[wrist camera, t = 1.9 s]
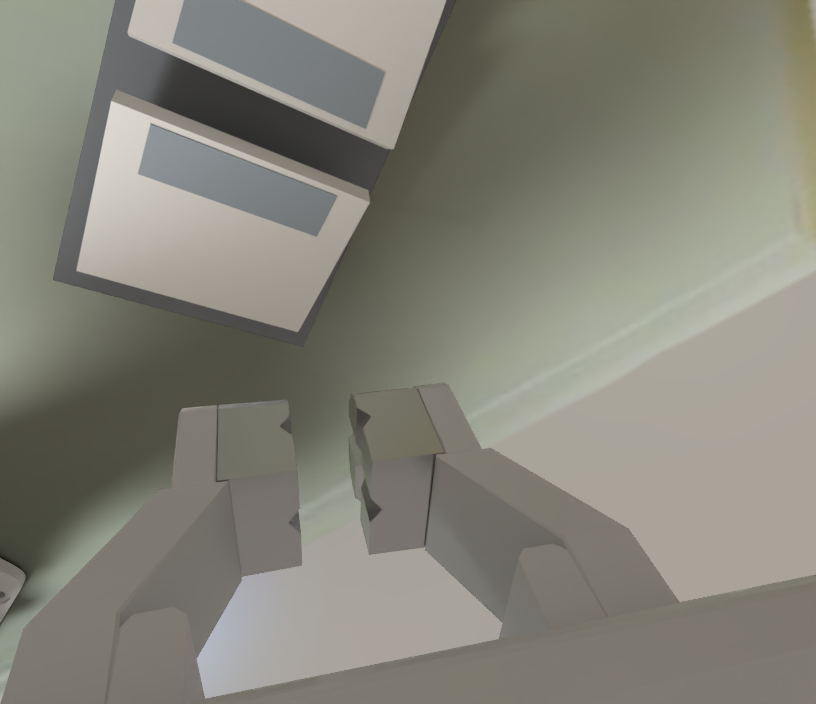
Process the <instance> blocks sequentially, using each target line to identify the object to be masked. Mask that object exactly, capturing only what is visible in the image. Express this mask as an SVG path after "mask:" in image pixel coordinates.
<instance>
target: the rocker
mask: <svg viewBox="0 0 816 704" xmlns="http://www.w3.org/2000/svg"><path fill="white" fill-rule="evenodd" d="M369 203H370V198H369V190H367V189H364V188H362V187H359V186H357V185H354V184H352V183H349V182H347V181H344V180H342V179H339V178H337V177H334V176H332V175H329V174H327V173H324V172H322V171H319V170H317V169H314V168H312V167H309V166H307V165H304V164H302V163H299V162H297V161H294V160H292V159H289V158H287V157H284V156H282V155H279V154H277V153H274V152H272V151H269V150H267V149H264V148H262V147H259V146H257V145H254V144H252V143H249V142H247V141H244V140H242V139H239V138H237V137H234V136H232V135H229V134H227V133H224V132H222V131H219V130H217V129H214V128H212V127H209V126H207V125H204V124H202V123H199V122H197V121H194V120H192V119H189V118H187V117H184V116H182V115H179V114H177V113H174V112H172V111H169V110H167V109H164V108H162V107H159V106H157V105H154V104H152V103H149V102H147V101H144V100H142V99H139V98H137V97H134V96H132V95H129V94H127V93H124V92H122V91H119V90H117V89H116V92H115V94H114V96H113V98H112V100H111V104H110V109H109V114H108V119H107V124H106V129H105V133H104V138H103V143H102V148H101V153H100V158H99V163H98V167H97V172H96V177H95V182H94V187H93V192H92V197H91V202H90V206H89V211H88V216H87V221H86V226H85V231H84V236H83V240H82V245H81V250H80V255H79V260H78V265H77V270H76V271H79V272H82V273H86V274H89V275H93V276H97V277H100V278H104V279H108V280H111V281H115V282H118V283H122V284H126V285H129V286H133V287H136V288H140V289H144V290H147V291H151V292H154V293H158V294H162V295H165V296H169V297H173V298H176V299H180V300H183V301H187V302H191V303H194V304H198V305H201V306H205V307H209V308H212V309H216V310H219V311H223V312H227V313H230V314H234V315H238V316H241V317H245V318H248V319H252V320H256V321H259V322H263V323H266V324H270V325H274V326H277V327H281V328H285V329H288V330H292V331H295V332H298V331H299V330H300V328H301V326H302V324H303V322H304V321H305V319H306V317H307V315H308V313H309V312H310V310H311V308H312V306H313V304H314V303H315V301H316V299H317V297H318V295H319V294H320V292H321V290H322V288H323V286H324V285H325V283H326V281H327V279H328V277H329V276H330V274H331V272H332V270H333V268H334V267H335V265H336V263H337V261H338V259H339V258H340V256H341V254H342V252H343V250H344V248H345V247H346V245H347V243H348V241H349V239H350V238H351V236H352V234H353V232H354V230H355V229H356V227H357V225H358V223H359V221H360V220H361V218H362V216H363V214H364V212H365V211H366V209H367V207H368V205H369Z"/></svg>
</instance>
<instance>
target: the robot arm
mask: <svg viewBox="0 0 816 704" xmlns="http://www.w3.org/2000/svg"><path fill="white" fill-rule="evenodd" d="M349 417H350V421H351V425H352V429H353V434H352V435H351V436H350V437H349V461H350V473H351V479H352V485H353V489H354V494H355V498H357V499H358V500H359V501H361V524H362V528H363V532H364V536H365V540H366V544H367V548H368V552H369V555H370V554H378V553H385V552H393V551H400V550H408V549H415V548H422V547H425V550H426V551H427V552H428V553H429V554H430V555H431V556H432V557H433V558H434V559H435V560H437V562H439V563H440V564H441V565H442V566H443V567H444V568H445V569H446V570H447V571H448V572H449V573H450V574H451V575H452V576H453V577H454V578H456V579H457V580H458V581H459V582H460V583H461V584H462V585H463V586H464V587H465V588H466V589H467V590H468V591H469V592H470V593H471V594H472V595H474V596H475V597H476V598H477V599H478V600H479V601H480V602H481V603H482V604H483V605H484V606H485V607H486V608H487V609H488V610H489V611H491V612H492V613H493V614H494V615H495V616H496V617H497V618H498V619H499V620H500V621H501V622H502V623H503V625H502V628H501V632H500V637H499V639H498V640H493V641H488V642H483V643H478V644H473V645H468V646H463V647H459V648H453V649H449V650H444V651H439V652H434V653H429V654H424V655H419V656H414V657H409V658H404V659H400V660H394V661H389V662H384V663H379V664H375V665H370V666H365V667H360V668H355V669H350V670H345V671H340V672H335V673H330V674H326V675H320V676H315V677H310V678H306V679H300V680H295V681H291V682H286V683H281V684H276V685H271V686H266V687H261V688H256V689H251V690H246V691H241V692H236V693H231V694H226V695H222V696H216V697H212V698H207V699H205V696H204V692H203V687H202V682H201V678H200V673H199V668H198V664H197V660H196V659H197V657H198V655H199V653H200V652H201V650H202V648H203V647H204V645H205V643H206V641H207V639H208V638H209V636H210V634H211V633H212V631H213V629H214V627H215V626H216V624H217V622H218V620H219V619H220V617H221V615H222V614H223V612H224V610H225V608H226V607H227V605H228V603H229V601H230V600H231V598H232V596H233V595H234V593H235V591H236V589H237V587H238V586H239V584H240V582H241V581H242V579H241V577H243V576H248V575H253V574H259V573H264V572H269V571H275V570H280V569H285V568H291V567H295V566H301V565H302V551H301V530H300V522H299V514H298V510H299V509H300V507H299V491H298V475H297V465H296V457H295V449H294V440H293V436H292V435H291V422H290V411H289V404H288V400H275V401H262V402H249V403H235V404H222V405H219V407H218V406H216V405H212V406H201V407H190V408H182V409H181V411H180V413H179V417H178V426H177V436H176V446H175V455H174V465H173V475H172V485H171V488H167V489H160V490H159V491H158V492H157V493H156V494H155V495H154V496H153V497H152V498H151V499H150V500H149V501H148V502H147V503H146V504H145V505H144V506H143V507H142V508H141V509H140V510H139V511H138V512H137V513H136V514H135V515H134V516H133V517H132V518H131V519H130V520H129V521H128V522H127V523H126V524H125V525H124V527H123V528H122V529H121V530H120V531H119V532H118V533H117V534H116V535H115V536H114V537H113V538H112V539H111V540H110V541H109V542H108V543H107V544H106V545H105V546H104V547H103V548H102V549H101V550H100V551H99V552H98V553H97V554H96V555H95V556H94V557H93V558H92V559H91V560H90V561H89V562H88V563H87V564H86V565H85V566H84V567H83V568H82V569H81V570H80V571H79V572H78V573H77V574H76V575H75V577H74V578H73V579H72V580H71V581H70V582H69V583H68V584H67V585H66V586H65V587H64V588H63V589H62V590H61V591H60V592H59V593H58V594H57V595H56V596H55V597H54V598H53V599H52V600H51V601H50V602H49V603H48V604H47V605H46V606H45V607H44V608H43V609H42V610H41V611H40V612H39V613H38V614H37V615H36V616H35V617H34V618H33V619H32V620H31V621H30V622H29V623H28V624H27V626H26V627H25V628H24V629H23V632H22V635H21V638H20V641H19V645H18V648H17V651H16V655H15V658H14V661H13V665H12V668H11V671H10V674H9V678H8V681H7V684H6V688H5V691H4V694H3V697H2V701H1V704H816V575H812V576H808V577H802V578H797V579H792V580H787V581H782V582H777V583H772V584H768V585H762V586H757V587H753V588H748V589H743V590H738V591H733V592H728V593H723V594H718V595H713V596H708V597H703V598H699V599H693V600H688V601H683V602H679V601H678V599H677V598H676V596H675V595H674V594H673V592H672V591H671V589H670V588H669V586H668V585H667V583H666V582H665V581H664V579H663V578H662V576H661V575H660V573H659V572H658V570H657V569H656V567H655V566H654V565H653V563H652V562H651V560H650V559H649V557H648V556H647V554H646V553H645V552H644V550H643V549H642V547H641V546H640V544H639V543H638V541H637V540H636V538H635V537H634V536H633V534H632V533H631V531H630V530H629V529H628V528H626V527H625V526H623V525H621V524H620V523H618V522H616V521H615V520H613V519H611V518H609V517H607V516H606V515H604V514H603V513H601V512H599V511H598V510H596V509H594V508H592V507H591V506H589V505H587V504H586V503H584V502H582V501H580V500H579V499H577V498H575V497H574V496H572V495H570V494H569V493H567V492H565V491H563V490H562V489H560V488H558V487H557V486H555V485H553V484H551V483H550V482H548V481H546V480H545V479H543V478H541V477H539V476H538V475H536V474H534V473H533V472H531V471H529V470H528V469H526V468H524V467H522V466H521V465H519V464H517V463H515V462H514V461H512V460H510V459H509V458H507V457H505V456H504V455H502V454H500V453H499V452H497V451H495V450H493V449H492V448H487V449H482V448H481V446H480V444H479V442H478V440H477V438H476V437H475V435H474V433H473V431H472V429H471V427H470V425H469V423H468V421H467V419H466V417H465V415H464V413H463V412H462V410H461V408H460V406H459V404H458V402H457V400H456V398H455V396H454V394H453V392H452V390H451V388H450V387H449V385H447V384H446V383H437V384H429V385H421V386H414V388H405V389H395V390H385V391H375V392H365V393H355V394H350V401H349ZM25 579H26V576H25V573H24V572H23V571H22V570H21V569H19V568H18V567H16V566H14V565H13V564H11V563H9V562H7V561H5V560H3V559H1V558H0V622H1V621H2V619H3V617H4V616H5V614H6V613H7V611H8V609H9V608H10V606H11V605H12V603H13V601H14V600H15V598H16V597H17V595H18V593H19V592H20V590H21V588H22V586H23V584H24V582H25Z"/></svg>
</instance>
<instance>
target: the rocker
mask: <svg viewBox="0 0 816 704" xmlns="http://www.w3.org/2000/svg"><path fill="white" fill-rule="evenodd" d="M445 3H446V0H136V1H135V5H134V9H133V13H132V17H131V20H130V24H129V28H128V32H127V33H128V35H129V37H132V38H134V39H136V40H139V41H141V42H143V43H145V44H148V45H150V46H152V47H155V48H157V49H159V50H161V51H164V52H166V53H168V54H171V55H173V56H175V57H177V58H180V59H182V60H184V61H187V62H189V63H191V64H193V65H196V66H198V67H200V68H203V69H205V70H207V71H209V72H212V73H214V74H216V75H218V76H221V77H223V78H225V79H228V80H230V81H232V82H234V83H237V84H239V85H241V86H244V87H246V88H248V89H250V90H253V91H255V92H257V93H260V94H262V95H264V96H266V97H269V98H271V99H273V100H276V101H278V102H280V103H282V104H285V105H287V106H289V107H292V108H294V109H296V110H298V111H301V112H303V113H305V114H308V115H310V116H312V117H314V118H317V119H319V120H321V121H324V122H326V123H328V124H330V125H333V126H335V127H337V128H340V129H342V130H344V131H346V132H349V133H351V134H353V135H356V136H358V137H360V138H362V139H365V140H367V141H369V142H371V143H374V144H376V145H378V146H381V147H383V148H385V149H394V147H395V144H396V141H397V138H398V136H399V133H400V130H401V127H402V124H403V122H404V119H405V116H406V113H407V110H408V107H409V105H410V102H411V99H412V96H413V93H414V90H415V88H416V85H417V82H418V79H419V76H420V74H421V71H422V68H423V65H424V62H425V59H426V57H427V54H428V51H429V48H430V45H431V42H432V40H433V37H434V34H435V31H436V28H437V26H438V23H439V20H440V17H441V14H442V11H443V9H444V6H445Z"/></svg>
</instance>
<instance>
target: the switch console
mask: <svg viewBox="0 0 816 704" xmlns="http://www.w3.org/2000/svg"><path fill="white" fill-rule="evenodd" d="M135 1H136V0H115V4H114V8H113V13H112V17H111V22H110V26H109V31H108V35H107V40H106V44H105V48H104V53H103V57H102V62H101V66H100V71H99V75H98V80H97V84H96V89H95V93H94V98H93V102H92V107H91V111H90V116H89V120H88V124H87V129H86V133H85V138H84V142H83V147H82V151H81V156H80V160H79V165H78V169H77V174H76V178H75V183H74V187H73V192H72V196H71V201H70V205H69V209H68V214H67V218H66V223H65V227H64V232H63V236H62V241H61V245H60V250H59V254H58V259H57V263H56V268H55V272H54V277H53V280H55V281H59V282H63V283H66V284H70V285H74V286H78V287H81V288H85V289H89V290H93V291H96V292H100V293H104V294H108V295H111V296H115V297H119V298H123V299H126V300H130V301H134V302H137V303H141V304H145V305H149V306H152V307H156V308H160V309H164V310H167V311H171V312H175V313H179V314H182V315H186V316H190V317H194V318H197V319H201V320H205V321H209V322H212V323H216V324H220V325H224V326H227V327H231V328H235V329H239V330H242V331H246V332H250V333H253V334H257V335H261V336H265V337H268V338H272V339H276V340H280V341H283V342H287V343H291V344H295V345H298V346H302V347H303V345H304V343H305V341H306V339H307V336H308V334H309V332H310V330H311V327H312V325H313V323H314V320H315V318H316V316H317V314H318V311H319V309H320V307H321V305H322V302H323V300H324V298H325V296H326V293H327V291H328V289H329V286H330V284H331V282H332V280H333V277H334V275H335V273H336V271H337V268H338V266H339V264H340V262H341V259H342V257H343V255H344V252H345V250H346V248H347V246H348V243H349V241H350V239H351V238H350V239H349V241H348V243H347V245H346V247H345V248H344V250H343V252H342V254H341V256H340V258H339V259H338V261H337V263H336V265H335V267H334V268H333V270H332V272H331V274H330V276H329V277H328V279H327V281H326V283H325V285H324V286H323V288H322V290H321V292H320V294H319V295H318V297H317V299H316V301H315V303H314V304H313V306H312V308H311V310H310V312H309V313H308V315H307V317H306V319H305V321H304V322H303V324H302V326H301V328H300V330H299V331H298V332H295V331H292V330H288V329H285V328H281V327H277V326H274V325H270V324H266V323H263V322H259V321H256V320H252V319H248V318H245V317H241V316H238V315H234V314H230V313H227V312H223V311H219V310H216V309H212V308H209V307H205V306H201V305H198V304H194V303H191V302H187V301H183V300H180V299H176V298H173V297H169V296H165V295H162V294H158V293H154V292H151V291H147V290H144V289H140V288H136V287H133V286H129V285H126V284H122V283H118V282H115V281H111V280H108V279H104V278H100V277H97V276H93V275H89V274H86V273H82V272H79V271H76V270H77V265H78V260H79V255H80V250H81V245H82V240H83V236H84V231H85V226H86V221H87V216H88V211H89V206H90V202H91V197H92V192H93V187H94V182H95V177H96V172H97V167H98V163H99V158H100V153H101V148H102V143H103V138H104V133H105V129H106V124H107V119H108V114H109V109H110V104H111V100H112V98H113V96H114V94H115V92H116V89H117V90H119V91H122V92H124V93H127V94H129V95H132V96H134V97H137V98H139V99H142V100H144V101H147V102H149V103H152V104H154V105H157V106H159V107H162V108H164V109H167V110H169V111H172V112H174V113H177V114H179V115H182V116H184V117H187V118H189V119H192V120H194V121H197V122H199V123H202V124H204V125H207V126H209V127H212V128H214V129H217V130H219V131H222V132H224V133H227V134H229V135H232V136H234V137H237V138H239V139H242V140H244V141H247V142H249V143H252V144H254V145H257V146H259V147H262V148H264V149H267V150H269V151H272V152H274V153H277V154H279V155H282V156H284V157H287V158H289V159H292V160H294V161H297V162H299V163H302V164H304V165H307V166H309V167H312V168H314V169H317V170H319V171H322V172H324V173H327V174H329V175H332V176H334V177H337V178H339V179H342V180H344V181H347V182H349V183H352V184H354V185H357V186H359V187H362V188H364V189H367V190H369V196H370V194H371V191H372V189H373V187H374V184H375V182H376V180H377V178H378V175H379V173H380V171H381V169H382V166H383V164H384V162H385V160H386V157H387V155H388V153H389V150H390V149H385V148H383V147H381V146H378V145H376V144H374V143H371V142H369V141H367V140H365V139H362V138H360V137H358V136H356V135H353V134H351V133H349V132H346V131H344V130H342V129H340V128H337V127H335V126H333V125H330V124H328V123H326V122H324V121H321V120H319V119H317V118H314V117H312V116H310V115H308V114H305V113H303V112H301V111H298V110H296V109H294V108H292V107H289V106H287V105H285V104H282V103H280V102H278V101H276V100H273V99H271V98H269V97H266V96H264V95H262V94H260V93H257V92H255V91H253V90H250V89H248V88H246V87H244V86H241V85H239V84H237V83H234V82H232V81H230V80H228V79H225V78H223V77H221V76H218V75H216V74H214V73H212V72H209V71H207V70H205V69H203V68H200V67H198V66H196V65H193V64H191V63H189V62H187V61H184V60H182V59H180V58H177V57H175V56H173V55H171V54H168V53H166V52H164V51H161V50H159V49H157V48H155V47H152V46H150V45H148V44H145V43H143V42H141V41H139V40H136V39H134V38H132V37H129V35H128V33H127V32H128V28H129V24H130V20H131V17H132V13H133V9H134V5H135ZM455 1H456V0H446V3H445V6H444V9H443V11H442V14H441V17H440V20H439V23H438V26H437V28H436V31H435V34H434V37H433V40H432V42H431V45H430V48H429V51H428V54H427V57H426V59H425V62H424V65H423V68H422V71H421V74H420V76H419V79H418V82H417V85H416V88H415V90H414V93H413V96H414V94H415V92H416V89H417V87H418V85H419V82H420V80H421V78H422V76H423V73H424V71H425V69H426V67H427V64H428V62H429V60H430V58H431V55H432V53H433V51H434V48H435V46H436V44H437V42H438V39H439V37H440V35H441V33H442V30H443V28H444V26H445V24H446V21H447V19H448V17H449V15H450V12H451V10H452V8H453V5H454V3H455ZM413 96H412V98H413ZM411 101H412V99H411ZM410 103H411V102H410ZM351 237H352V236H351Z"/></svg>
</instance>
